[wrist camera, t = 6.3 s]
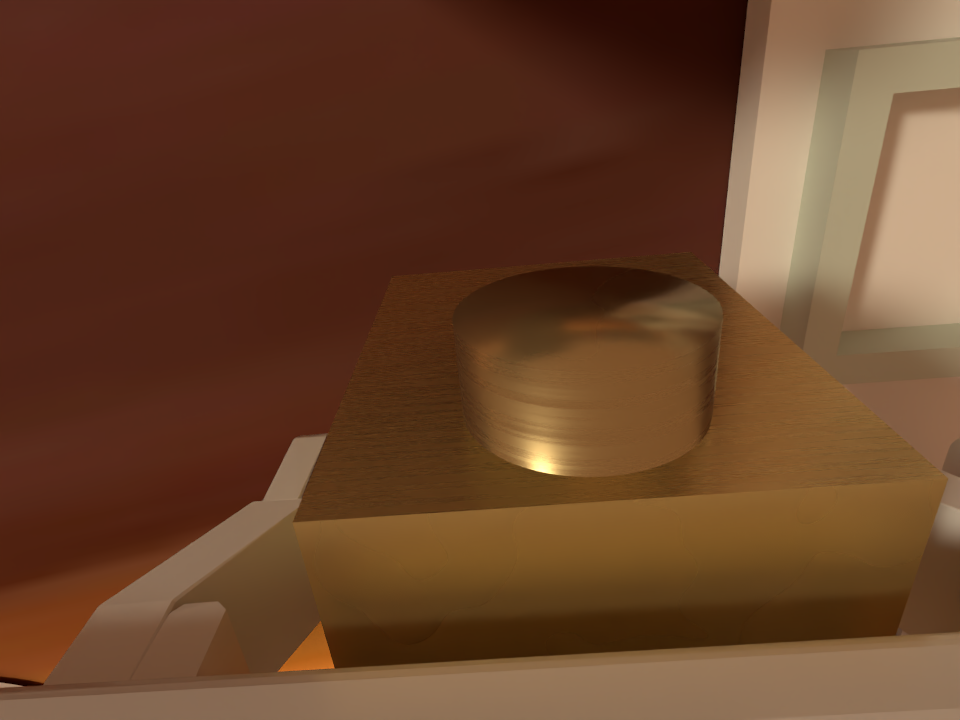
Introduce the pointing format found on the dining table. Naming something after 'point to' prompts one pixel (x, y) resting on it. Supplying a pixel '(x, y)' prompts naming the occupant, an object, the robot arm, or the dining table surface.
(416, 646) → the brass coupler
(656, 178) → the dining table surface
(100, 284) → the dining table surface
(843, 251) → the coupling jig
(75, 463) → the dining table surface
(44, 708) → the robot arm
